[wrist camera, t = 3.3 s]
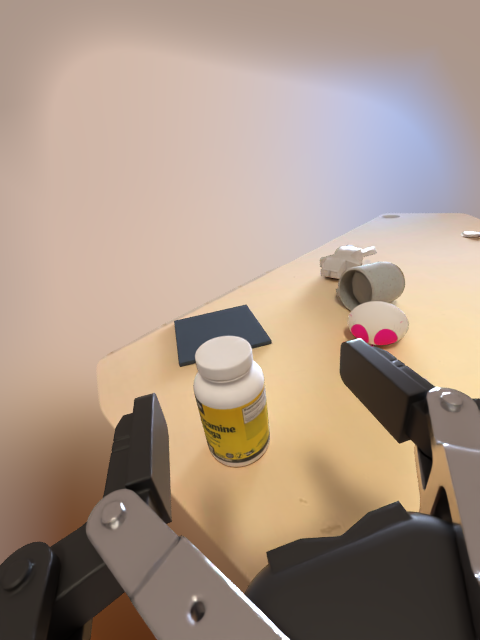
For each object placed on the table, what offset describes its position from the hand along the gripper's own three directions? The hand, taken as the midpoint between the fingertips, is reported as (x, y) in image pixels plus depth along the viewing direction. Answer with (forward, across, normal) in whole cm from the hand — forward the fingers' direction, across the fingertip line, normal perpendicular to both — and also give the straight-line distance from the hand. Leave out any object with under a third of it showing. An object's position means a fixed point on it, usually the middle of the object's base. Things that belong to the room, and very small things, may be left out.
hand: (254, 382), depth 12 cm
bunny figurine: (+46, -35, +16) cm, 60 cm away
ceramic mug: (+30, -28, +16) cm, 44 cm away
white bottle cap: (+51, -76, +16) cm, 93 cm away
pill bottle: (+10, 0, +16) cm, 19 cm away
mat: (+32, -2, +16) cm, 36 cm away
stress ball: (+19, -22, +16) cm, 33 cm away
